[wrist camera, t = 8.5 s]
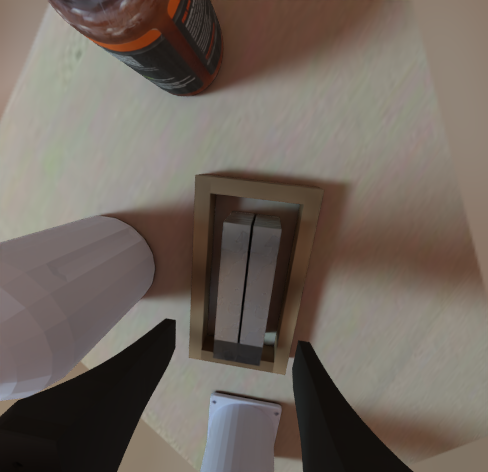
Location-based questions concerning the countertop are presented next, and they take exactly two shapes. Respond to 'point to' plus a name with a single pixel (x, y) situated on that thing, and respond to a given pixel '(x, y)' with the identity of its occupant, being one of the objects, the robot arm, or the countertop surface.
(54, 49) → the countertop surface
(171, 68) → the supplement bottle
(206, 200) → the brown rectangular open frame
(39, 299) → the soap bottle
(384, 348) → the countertop surface
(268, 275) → the grooved grey block
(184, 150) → the countertop surface
